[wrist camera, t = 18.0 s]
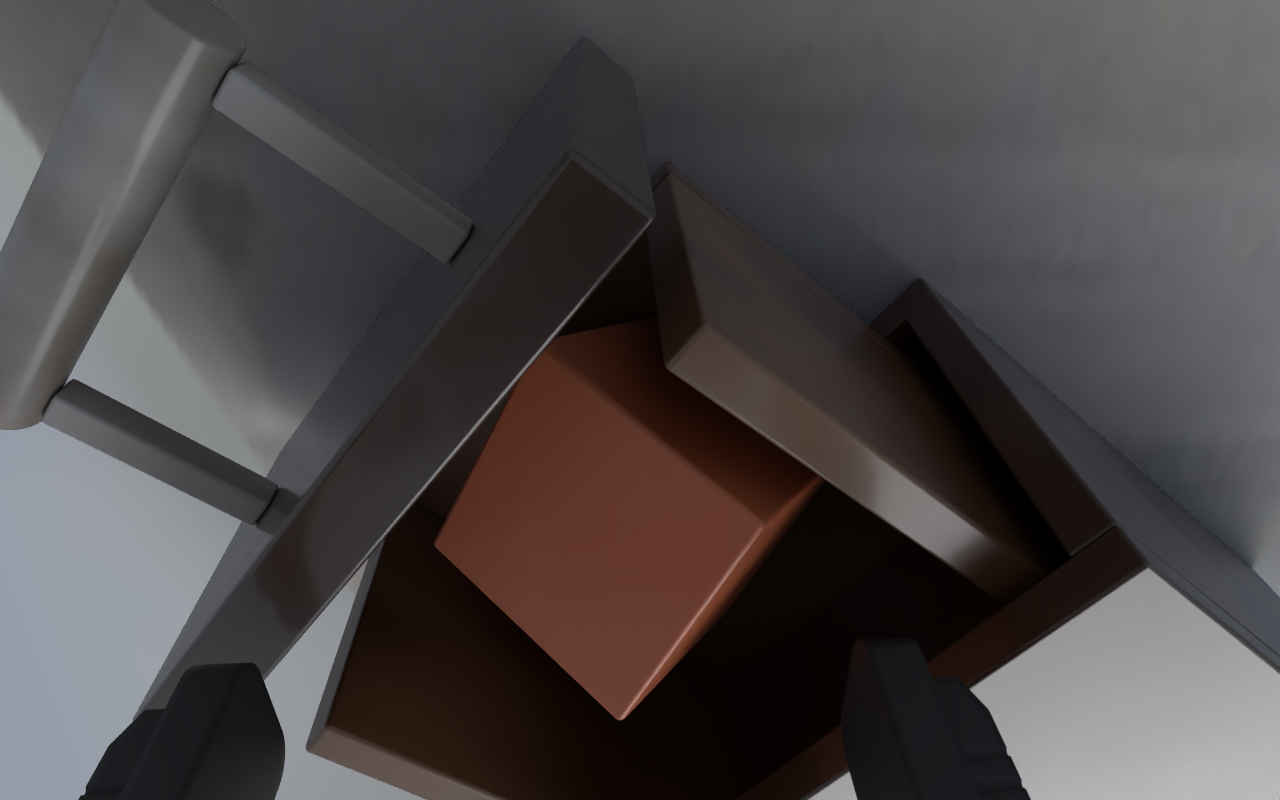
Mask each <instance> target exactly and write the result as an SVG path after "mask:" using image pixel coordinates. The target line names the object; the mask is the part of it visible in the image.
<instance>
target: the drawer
mask: <svg viewBox="0 0 1280 800" xmlns="http://www.w3.org/2000/svg"><path fill="white" fill-rule="evenodd" d="M246 48H247V42H246V38H245V36H244V34H243V33H242V31H241V30H240V29H239V28H238V26H237V25H236V24H235V23H234V22H233V21H232V20H231V19H230V18H229V17H228V16H226V15H225V14H224V13H223V12H222V11H221V10H219V9H218V8H217V7H216V6H214V5H213V4H212V3H210V2H209V1H207V0H115V2H114V5H113V7H112V9H111V11H110V13H109V16H108V18H107V20H106V22H105V24H104V27H103V29H102V31H101V33H100V35H99V37H98V40H97V42H96V44H95V46H94V48H93V51H92V53H91V55H90V57H89V59H88V62H87V64H86V66H85V68H84V70H83V73H82V75H81V77H80V79H79V81H78V83H77V86H76V88H75V90H74V92H73V94H72V97H71V99H70V101H69V103H68V105H67V108H66V110H65V112H64V114H63V116H62V119H61V121H60V123H59V125H58V127H57V130H56V132H55V134H54V136H53V138H52V140H51V143H50V145H49V147H48V149H47V151H46V154H45V156H44V158H43V160H42V162H41V165H40V167H39V169H38V171H37V173H36V176H35V178H34V180H33V182H32V184H31V186H30V189H29V191H28V193H27V195H26V197H25V200H24V202H23V204H22V206H21V209H20V211H19V213H18V215H17V217H16V219H15V222H14V224H13V226H12V228H11V230H10V232H9V235H8V237H7V239H6V241H5V243H4V246H3V248H2V250H1V252H0V429H1V430H17V429H24V428H27V427H31V426H33V425H36V424H38V423H39V422H41V421H42V422H43V423H45V424H47V425H49V426H51V427H53V428H55V429H57V430H59V431H61V432H63V433H65V434H67V435H69V436H71V437H74V438H75V439H77V440H79V441H81V442H83V443H85V444H87V445H89V446H91V447H94V448H96V449H97V450H100V451H102V452H104V453H106V454H108V455H110V456H112V457H114V458H116V459H118V460H120V461H122V462H124V463H126V464H128V465H130V466H132V467H134V468H136V469H138V470H140V471H142V472H144V473H146V474H148V475H150V476H152V477H154V478H156V479H158V480H161V481H162V482H164V483H166V484H168V485H171V486H173V487H174V488H177V489H179V490H180V491H183V492H185V493H187V494H189V495H191V496H193V497H195V498H197V499H199V500H201V501H203V502H205V503H207V504H209V505H211V506H213V507H215V508H217V509H219V510H221V511H223V512H225V513H227V514H229V515H231V516H233V517H235V518H237V519H239V520H241V521H242V522H241V524H240V526H239V528H238V530H237V532H236V533H235V535H234V537H233V539H232V540H231V542H230V544H229V546H228V548H227V549H226V552H225V553H224V555H223V557H222V559H221V560H220V562H219V564H218V566H217V568H216V570H215V571H214V573H213V575H212V577H211V579H210V581H209V582H208V584H207V586H206V588H205V589H204V591H203V593H202V595H201V597H200V598H199V600H198V602H197V604H196V606H195V607H194V609H193V611H192V613H191V615H190V617H189V619H188V620H187V622H186V624H185V626H184V627H183V629H182V631H181V633H180V635H179V637H178V639H177V640H176V642H175V644H174V646H173V647H172V649H171V651H170V653H169V655H168V656H167V658H166V660H165V662H164V664H163V665H162V667H161V669H160V671H159V673H158V675H157V677H156V678H155V680H154V682H153V684H152V686H151V687H150V689H149V691H148V693H147V694H146V696H145V698H144V700H143V702H142V704H141V705H140V707H139V709H138V711H137V713H136V715H135V716H134V718H133V721H134V720H135V719H136V718H137V717H138V716H139V715H140V714H141V713H142V712H143V711H144V710H149V709H165V707H166V705H167V703H168V702H169V700H170V698H171V696H172V694H173V692H174V690H175V688H176V686H177V684H178V682H179V680H180V679H181V677H182V675H183V674H184V673H185V671H186V670H187V669H188V668H189V667H191V666H193V665H200V664H224V663H249V662H251V663H254V664H256V665H257V667H258V668H259V670H260V672H261V675H262V678H263V680H265V679H266V678H267V677H268V675H269V674H270V673H271V672H272V671H273V670H274V668H275V667H276V666H277V664H279V662H280V661H281V660H282V659H283V658H284V657H285V655H286V654H287V653H288V652H289V651H290V649H291V648H292V647H293V646H294V645H295V644H296V642H297V641H298V640H299V639H300V638H301V637H302V635H303V634H304V633H305V632H306V630H307V629H308V628H309V627H310V626H311V625H312V624H313V622H314V621H315V620H316V619H317V618H318V616H319V615H320V614H321V613H322V612H323V611H324V609H325V608H326V607H327V606H328V605H329V604H330V602H331V601H332V600H333V599H334V598H335V596H336V595H337V594H338V593H339V592H340V591H341V589H342V588H343V587H344V586H345V585H346V584H347V582H348V581H349V580H350V579H351V578H352V577H353V575H354V574H355V573H356V572H357V571H358V569H359V568H360V567H361V566H362V565H363V564H364V562H365V561H366V560H367V559H368V558H369V559H368V562H367V565H366V568H365V571H364V574H363V577H362V580H361V583H360V586H359V589H358V592H357V595H356V598H355V601H354V604H353V607H352V610H351V613H350V616H349V619H348V622H347V625H346V628H345V631H344V634H343V636H342V640H341V642H340V646H339V649H338V652H337V655H336V657H335V661H334V663H333V666H332V669H331V672H330V675H329V678H328V681H327V684H326V687H325V690H324V693H323V696H322V699H321V702H320V705H319V708H318V711H317V714H316V717H315V720H314V723H313V726H312V729H311V732H310V735H309V738H308V741H307V744H306V750H307V751H308V752H310V753H312V754H314V755H317V756H319V757H322V758H325V759H327V760H330V761H332V762H334V763H337V764H339V765H342V766H344V767H347V768H349V769H352V770H354V771H357V772H359V773H362V774H364V775H367V776H369V777H372V778H375V779H377V780H379V781H382V782H385V783H387V784H389V785H392V786H394V787H397V788H400V789H402V790H404V791H407V792H410V793H412V794H414V795H417V796H420V797H422V798H424V799H427V800H735V799H736V798H738V797H739V796H741V795H742V794H743V793H745V792H746V791H747V790H749V789H750V788H752V787H753V786H754V785H756V784H757V783H759V782H760V781H761V780H763V779H764V778H766V777H767V776H768V775H770V774H771V773H773V772H774V771H775V770H777V769H778V768H780V767H781V766H782V765H784V764H785V763H787V762H788V761H789V760H791V759H792V758H793V757H795V756H796V755H798V754H799V753H800V752H802V751H803V750H805V749H806V748H807V747H809V746H810V745H812V744H813V743H814V742H816V741H817V740H819V739H820V738H821V737H823V736H824V735H826V734H827V733H828V732H830V731H831V730H833V729H834V728H835V727H837V726H838V725H840V724H841V712H842V706H843V700H844V694H845V689H846V683H847V677H848V672H849V666H850V661H851V655H852V649H853V645H854V643H855V641H856V640H858V639H880V638H904V637H911V638H913V639H915V641H916V642H917V643H918V645H919V647H920V649H921V651H922V653H923V656H924V658H925V660H926V662H927V661H929V660H930V659H932V658H933V657H934V656H936V655H937V654H939V653H940V652H941V651H943V650H944V649H946V648H947V647H948V646H950V645H951V644H952V643H954V642H955V641H957V640H958V639H959V638H961V637H962V636H964V635H965V634H966V633H968V632H969V631H971V630H972V629H973V628H975V627H976V626H978V625H979V624H980V623H982V622H983V621H985V620H986V619H987V618H989V617H990V616H992V615H993V614H994V613H996V612H997V611H998V610H1000V609H1001V608H1003V607H1004V606H1005V605H1007V604H1008V603H1010V602H1011V601H1012V600H1014V599H1015V598H1017V597H1018V596H1019V595H1021V594H1022V593H1024V592H1025V591H1026V590H1028V589H1029V588H1031V587H1032V586H1033V585H1035V584H1036V583H1038V582H1039V581H1040V580H1042V579H1043V578H1045V577H1046V576H1047V575H1049V574H1050V573H1051V572H1053V571H1054V570H1056V569H1057V568H1058V567H1060V566H1061V565H1063V564H1064V563H1065V562H1067V561H1068V560H1070V559H1071V557H1070V556H1069V555H1068V554H1067V552H1066V551H1065V550H1064V548H1063V547H1062V545H1061V544H1060V542H1059V541H1058V539H1057V538H1056V536H1055V535H1054V534H1053V532H1052V531H1051V529H1050V528H1049V526H1048V525H1047V523H1046V522H1045V521H1044V519H1043V518H1042V516H1041V515H1040V513H1039V512H1038V510H1037V509H1036V508H1035V506H1034V505H1033V503H1032V502H1031V500H1030V499H1029V497H1028V496H1027V495H1026V493H1025V492H1024V490H1023V489H1022V487H1021V486H1020V484H1019V483H1018V482H1017V480H1016V479H1015V477H1014V476H1013V474H1012V473H1011V471H1010V470H1009V469H1008V467H1007V466H1006V464H1005V463H1004V461H1003V460H1002V458H1001V457H1000V455H999V454H998V453H997V451H996V450H995V448H994V447H993V445H992V444H991V442H990V441H989V440H988V438H987V437H986V435H985V434H984V432H983V431H982V429H981V428H980V427H979V425H978V424H977V422H976V421H975V419H974V418H973V416H972V415H971V414H970V412H969V411H968V409H967V408H966V406H965V405H964V403H963V402H962V401H961V400H959V399H958V398H957V397H956V396H955V395H953V394H952V393H951V392H950V391H948V390H947V389H946V388H945V387H944V386H942V385H941V384H940V383H939V382H937V381H936V380H935V379H934V378H933V377H931V376H930V375H929V374H928V373H927V372H925V371H924V370H923V369H922V368H920V367H919V366H918V365H917V364H916V363H914V362H913V361H912V360H911V359H909V358H908V357H907V356H906V355H905V354H903V353H902V352H901V351H900V350H898V349H897V348H896V347H895V346H894V345H892V344H891V343H890V342H889V341H887V340H886V339H885V338H884V337H883V336H881V335H880V334H879V333H878V332H876V331H875V330H874V329H873V328H872V327H870V326H869V325H868V324H867V323H865V322H864V321H863V320H862V319H861V318H859V317H858V316H857V315H856V314H854V313H853V312H852V311H851V310H850V309H848V308H847V307H846V306H845V305H844V304H842V303H841V302H840V301H839V300H837V299H836V298H835V297H834V296H833V295H831V294H830V293H829V292H828V291H826V290H825V289H824V288H823V287H822V286H820V285H819V284H818V283H817V282H815V281H814V280H813V279H812V278H811V277H809V276H808V275H807V274H806V273H804V272H803V271H802V270H801V269H800V268H798V267H797V266H796V265H795V264H793V263H792V262H791V261H790V260H789V259H787V258H786V257H785V256H784V255H782V254H781V253H780V252H779V251H778V250H776V249H775V248H774V247H773V246H771V245H770V244H769V243H768V242H767V241H765V240H764V239H763V238H762V237H761V236H759V235H758V234H757V233H756V232H754V231H753V230H752V229H751V228H750V227H748V226H747V225H746V224H745V223H743V222H742V221H741V220H740V219H739V218H737V217H736V216H735V215H734V214H732V213H731V212H730V211H729V210H728V209H726V208H725V207H724V206H723V205H721V204H720V203H719V202H718V201H717V200H715V199H714V198H713V197H712V196H710V195H709V194H708V193H707V192H706V191H704V190H703V189H702V188H701V187H699V186H698V185H697V184H696V183H695V182H693V181H692V180H691V179H690V178H688V177H687V176H686V175H685V174H684V173H682V172H681V171H680V170H679V169H678V168H676V167H675V166H674V165H673V164H671V163H670V162H665V163H663V164H662V165H661V167H660V168H659V169H658V170H657V171H656V173H655V174H654V175H653V176H652V178H651V179H650V175H649V170H648V164H647V158H646V152H645V146H644V140H643V134H642V128H641V123H640V117H639V111H638V105H637V99H636V93H635V87H634V82H633V78H632V76H631V75H630V74H629V73H627V72H626V71H625V70H624V69H623V68H622V67H620V66H619V65H618V64H617V63H616V62H615V61H613V60H612V59H611V58H610V57H609V56H607V55H606V54H605V53H604V52H603V51H602V50H600V49H599V48H598V47H597V46H596V45H595V44H593V43H592V42H591V41H590V40H589V39H587V38H586V37H583V36H582V37H581V38H579V39H578V40H577V42H576V43H575V44H574V46H573V47H572V49H571V50H570V51H569V53H568V54H567V56H566V57H565V58H564V60H563V61H562V62H561V64H560V65H559V67H558V68H557V69H556V71H555V72H554V74H553V75H552V76H551V78H550V79H549V80H548V82H547V83H546V85H545V86H544V87H543V89H542V90H541V92H540V93H539V94H538V96H537V97H536V98H535V100H534V101H533V103H532V104H531V105H530V107H529V108H528V110H527V111H526V112H525V114H524V115H523V117H522V118H521V119H520V121H519V122H518V123H517V125H516V126H515V128H514V129H513V130H512V132H511V133H510V135H509V136H508V137H507V139H506V140H505V141H504V143H503V144H502V146H501V147H500V148H499V150H498V151H497V153H496V154H495V155H494V157H493V158H492V159H491V161H490V162H489V164H488V165H487V166H486V168H485V169H484V171H483V172H482V173H481V175H480V176H479V177H478V179H477V180H476V182H475V183H474V184H473V186H472V187H471V189H470V190H469V191H468V193H467V194H466V195H465V197H464V198H463V200H462V201H461V202H460V204H459V205H458V207H457V208H454V207H453V206H452V205H450V204H449V203H447V202H446V201H445V200H443V199H442V198H440V197H439V196H437V195H436V194H435V193H433V192H432V191H430V190H429V189H428V188H426V187H425V186H423V185H422V184H420V183H419V182H418V181H416V180H415V179H413V178H412V177H411V176H409V175H408V174H406V173H405V172H403V171H402V170H401V169H399V168H398V167H396V166H395V165H394V164H392V163H391V162H389V161H388V160H387V159H385V158H384V157H382V156H381V155H379V154H378V153H377V152H375V151H374V150H372V149H371V148H370V147H368V146H367V145H365V144H364V143H362V142H361V141H360V140H358V139H357V138H355V137H354V136H353V135H351V134H350V133H348V132H347V131H345V130H344V129H343V128H341V127H340V126H338V125H337V124H336V123H334V122H333V121H331V120H330V119H328V118H327V117H326V116H324V115H323V114H321V113H320V112H319V111H317V110H316V109H314V108H313V107H312V106H310V105H309V104H307V103H306V102H304V101H303V100H302V99H300V98H299V97H297V96H296V95H295V94H293V93H292V92H290V91H289V90H287V89H286V88H285V87H283V86H282V85H280V84H279V83H278V82H276V81H275V80H273V79H272V78H270V77H269V76H268V75H266V74H265V73H263V72H262V71H261V70H259V69H258V68H256V67H255V66H253V65H252V64H251V63H249V62H243V63H241V64H239V65H238V63H239V61H240V60H241V58H242V56H243V54H244V52H245V50H246ZM214 108H215V109H216V110H218V111H219V112H221V113H222V114H224V115H225V116H227V117H228V118H230V119H231V120H233V121H234V122H236V123H237V124H239V125H240V126H242V127H243V128H245V129H246V130H248V131H249V132H251V133H252V134H254V135H255V136H256V137H258V138H259V139H261V140H262V141H264V142H265V143H267V144H268V145H270V146H271V147H273V148H274V149H276V150H277V151H279V152H280V153H282V154H283V155H285V156H286V157H288V158H289V159H291V160H292V161H294V162H295V163H296V164H298V165H299V166H301V167H302V168H304V169H305V170H307V171H308V172H310V173H311V174H313V175H314V176H316V177H317V178H319V179H320V180H322V181H323V182H325V183H326V184H328V185H329V186H331V187H332V188H334V189H335V190H336V191H338V192H339V193H341V194H342V195H344V196H345V197H347V198H348V199H350V200H351V201H353V202H354V203H356V204H357V205H359V206H360V207H362V208H363V209H365V210H366V211H368V212H369V213H371V214H372V215H374V216H375V217H376V218H378V219H379V220H381V221H382V222H384V223H385V224H387V225H388V226H390V227H391V228H393V229H394V230H396V231H397V232H399V233H400V234H402V235H403V236H405V237H406V238H408V239H409V240H411V241H412V242H414V243H415V244H417V245H418V246H419V247H421V248H422V249H424V250H425V252H424V254H423V255H422V256H421V258H420V259H419V261H418V262H417V263H416V265H415V266H414V267H413V269H412V270H411V272H410V273H409V274H408V276H407V277H406V279H405V280H404V281H403V283H402V284H401V285H400V287H399V288H398V290H397V291H396V292H395V294H394V295H393V297H392V298H391V299H390V301H389V302H388V303H387V305H386V306H385V308H384V309H383V310H382V312H381V313H380V315H379V316H378V317H377V319H376V320H375V321H374V323H373V324H372V326H371V327H370V328H369V330H368V331H367V333H366V334H365V335H364V337H363V338H362V339H361V341H360V342H359V344H358V345H357V346H356V348H355V349H354V351H353V352H352V353H351V355H350V356H349V357H348V359H347V360H346V362H345V363H344V364H343V366H342V367H341V369H340V370H339V371H338V373H337V374H336V375H335V377H334V378H333V380H332V381H331V382H330V384H329V385H328V387H327V388H326V389H325V391H324V392H323V393H322V395H321V396H320V398H319V399H318V400H317V402H316V403H315V405H314V406H313V407H312V409H311V410H310V411H309V413H308V414H307V416H306V417H305V418H304V420H303V421H302V423H301V424H300V425H299V427H298V428H297V429H296V431H295V432H294V434H293V435H292V436H291V438H290V439H289V441H288V442H287V443H286V445H285V446H284V448H283V449H282V450H281V452H280V453H279V455H278V457H277V459H276V461H275V462H274V464H273V466H272V468H271V470H270V471H269V473H268V475H267V477H266V478H265V477H263V476H261V475H259V474H257V473H255V472H253V471H251V470H249V469H247V468H245V467H243V466H241V465H240V464H237V463H236V462H234V461H232V460H230V459H228V458H226V457H224V456H222V455H220V454H218V453H216V452H215V451H212V450H211V449H209V448H207V447H205V446H203V445H201V444H199V443H197V442H195V441H193V440H191V439H190V438H188V437H186V436H184V435H182V434H180V433H178V432H176V431H174V430H172V429H170V428H168V427H166V426H164V425H163V424H160V423H158V422H157V421H154V420H153V419H151V418H149V417H147V416H145V415H143V414H141V413H139V412H137V411H136V410H134V409H132V408H130V407H128V406H126V405H124V404H122V403H120V402H118V401H116V400H114V399H112V398H111V397H109V396H107V395H105V394H103V393H101V392H99V391H97V390H95V389H93V388H91V387H89V386H87V385H86V384H84V383H82V382H80V381H78V380H75V379H73V380H71V381H69V382H68V383H67V384H66V385H65V383H66V381H67V379H68V377H69V375H70V373H71V372H72V370H73V368H74V366H75V364H76V362H77V361H78V359H79V357H80V355H81V353H82V351H83V350H84V348H85V346H86V344H87V342H88V340H89V338H90V337H91V335H92V333H93V331H94V329H95V327H96V326H97V324H98V322H99V320H100V318H101V316H102V314H103V313H104V311H105V309H106V307H107V305H108V303H109V301H110V300H111V298H112V296H113V294H114V292H115V290H116V289H117V287H118V285H119V283H120V281H121V279H122V278H123V276H124V274H125V272H126V270H127V268H128V266H129V265H130V263H131V261H132V259H133V257H134V255H135V254H136V252H137V250H138V248H139V246H140V244H141V242H142V241H143V239H144V237H145V235H146V233H147V231H148V230H149V228H150V226H151V224H152V222H153V220H154V218H155V217H156V215H157V213H158V211H159V209H160V207H161V206H162V204H163V202H164V200H165V198H166V196H167V194H168V193H169V191H170V189H171V187H172V185H173V183H174V181H175V180H176V178H177V176H178V174H179V172H180V170H181V169H182V167H183V165H184V163H185V161H186V159H187V157H188V156H189V154H190V152H191V150H192V148H193V146H194V145H195V143H196V141H197V139H198V137H199V135H200V133H201V132H202V130H203V128H204V126H205V124H206V122H207V121H208V119H209V117H210V115H211V113H212V111H213V109H214ZM655 316H658V321H659V328H660V336H661V343H662V351H663V358H664V365H665V367H666V368H667V370H669V371H670V372H672V373H673V374H675V375H676V376H677V377H679V378H680V379H682V380H683V381H685V382H686V383H687V384H689V385H690V386H692V387H693V388H695V389H696V390H697V391H699V392H700V393H702V394H703V395H705V396H706V397H707V398H709V399H710V400H712V401H713V402H715V403H716V404H717V405H719V406H720V407H722V408H723V409H725V410H726V411H727V412H729V413H730V414H732V415H733V416H735V417H736V418H737V419H739V420H740V421H742V422H743V423H745V424H746V425H747V426H749V427H750V428H752V429H753V430H755V431H756V432H757V433H759V434H760V435H762V436H763V437H765V438H766V439H767V440H769V441H770V442H772V443H773V444H775V445H776V446H777V447H779V448H780V449H782V450H783V451H785V452H786V453H787V454H789V455H790V456H792V457H793V458H795V459H796V460H797V461H799V462H800V463H802V464H803V465H805V466H806V467H807V468H809V469H810V470H812V471H813V472H815V473H816V474H817V475H819V476H820V477H822V478H823V479H825V480H826V481H825V482H824V483H823V485H822V486H821V487H820V489H819V490H818V491H817V493H816V494H815V495H814V497H813V498H812V499H811V501H810V502H809V503H808V505H807V506H806V507H805V509H804V510H803V511H802V512H801V514H800V515H799V516H798V518H797V519H796V520H795V522H794V523H793V524H792V526H791V527H790V528H789V530H788V531H787V532H786V534H785V535H784V536H783V538H782V539H781V540H780V542H779V543H778V544H777V546H776V547H775V548H774V550H773V551H772V552H771V554H770V555H769V556H768V558H767V559H766V560H765V562H764V563H763V564H762V565H761V567H760V568H759V569H758V571H757V572H756V573H755V575H754V576H753V577H752V579H751V580H750V581H749V583H748V584H747V585H746V587H745V588H744V589H743V591H742V592H741V593H740V595H739V596H738V597H737V599H736V600H735V601H734V603H733V604H732V605H731V607H730V608H729V609H728V611H727V612H726V613H725V614H724V615H723V616H722V617H721V618H720V619H719V620H718V621H717V622H716V624H715V625H714V626H713V627H712V628H711V629H710V630H709V631H708V632H707V633H706V634H705V635H704V636H703V637H702V638H701V639H700V640H699V641H698V642H697V643H696V644H695V646H694V647H693V648H692V649H691V650H690V651H689V652H688V653H687V654H686V655H685V656H684V657H683V658H682V659H681V660H680V661H679V662H678V663H677V664H676V665H675V666H674V667H673V669H672V670H671V671H670V672H669V673H668V674H667V675H666V676H665V677H664V678H663V679H662V680H661V681H660V682H659V683H658V684H657V685H656V686H655V687H654V688H653V689H652V691H651V692H650V693H649V694H648V695H647V696H646V697H645V698H644V699H643V700H642V701H641V702H640V703H639V704H638V705H637V706H636V707H635V708H634V709H633V710H632V711H631V712H630V714H629V715H628V716H627V717H626V718H625V719H622V720H620V721H619V720H617V719H616V718H615V717H614V716H613V715H611V714H610V713H609V712H608V711H607V710H606V709H605V708H604V707H603V706H602V705H601V704H600V703H599V702H598V701H597V700H596V699H595V698H594V697H593V696H592V695H590V694H589V693H588V692H587V691H586V690H585V689H584V688H583V687H582V686H581V685H580V684H579V683H578V682H577V681H576V680H575V679H574V678H573V677H572V676H571V675H569V674H568V673H567V672H566V671H565V670H564V669H563V668H562V667H561V666H560V665H559V664H558V663H557V662H556V661H555V660H554V659H553V658H552V657H551V656H550V655H548V654H547V653H546V652H545V651H544V650H543V649H542V648H541V647H540V646H539V645H538V644H537V643H536V642H535V641H534V640H533V639H532V638H531V637H530V636H529V635H528V634H526V633H525V632H524V631H523V630H522V629H521V628H520V627H519V626H518V625H517V624H516V623H515V622H514V621H513V620H512V619H511V618H510V617H509V616H508V615H507V614H505V613H504V612H503V611H502V610H501V609H500V608H499V607H498V606H497V605H496V604H495V603H494V602H493V601H492V600H491V599H490V598H489V597H488V596H487V595H486V594H484V593H483V592H482V591H481V590H480V589H479V588H478V587H477V586H476V585H475V584H474V583H473V582H472V581H471V580H470V579H469V578H468V577H467V576H466V575H465V574H463V573H462V572H461V571H460V570H459V569H458V568H457V567H456V566H455V565H454V564H453V563H452V562H451V561H450V560H449V559H448V558H447V557H446V556H445V555H444V554H442V553H441V552H440V551H439V550H438V549H437V548H436V547H435V545H434V541H435V539H436V537H437V535H438V534H439V532H440V530H441V528H442V526H443V524H444V522H445V520H446V518H447V516H448V514H449V512H450V510H451V508H452V506H453V504H454V502H455V500H456V498H457V496H458V495H459V493H460V491H461V489H462V487H463V485H464V483H465V481H466V479H467V477H468V475H469V473H470V471H471V469H472V467H473V465H474V463H475V461H476V459H477V457H478V456H479V454H480V452H481V450H482V448H483V446H484V444H485V442H486V440H487V438H488V436H489V434H490V432H491V430H492V428H493V426H494V424H495V422H496V420H497V418H498V416H499V415H500V413H501V411H502V409H503V407H504V405H505V403H506V401H507V399H508V397H509V395H510V393H511V391H512V389H513V387H514V386H515V385H516V383H517V382H518V381H519V380H520V379H521V378H522V376H523V375H524V374H525V373H526V372H527V371H528V369H529V368H530V367H531V366H532V365H533V363H534V362H535V361H536V360H537V359H538V358H539V356H540V355H541V354H542V353H543V352H544V350H545V349H546V348H547V347H548V346H549V345H550V343H551V342H552V341H553V340H554V339H555V338H556V337H559V336H564V335H569V334H573V333H578V332H583V331H588V330H593V329H597V328H602V327H607V326H612V325H617V324H622V323H626V322H631V321H636V320H641V319H646V318H650V317H655ZM64 385H65V386H64ZM63 386H64V387H63Z"/></svg>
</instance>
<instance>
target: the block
mask: <svg viewBox="0 0 1280 800" xmlns="http://www.w3.org/2000/svg"><path fill="white" fill-rule="evenodd" d="M825 481H826V480H825V479H823V478H822V477H820V476H819V475H817V474H816V473H815V472H813V471H812V470H810V469H809V468H807V467H806V466H805V465H803V464H802V463H800V462H799V461H797V460H796V459H795V458H793V457H792V456H790V455H789V454H787V453H786V452H785V451H783V450H782V449H780V448H779V447H777V446H776V445H775V444H773V443H772V442H770V441H769V440H767V439H766V438H765V437H763V436H762V435H760V434H759V433H757V432H756V431H755V430H753V429H752V428H750V427H749V426H747V425H746V424H745V423H743V422H742V421H740V420H739V419H737V418H736V417H735V416H733V415H732V414H730V413H729V412H727V411H726V410H725V409H723V408H722V407H720V406H719V405H717V404H716V403H715V402H713V401H712V400H710V399H709V398H707V397H706V396H705V395H703V394H702V393H700V392H699V391H697V390H696V389H695V388H693V387H692V386H690V385H689V384H687V383H686V382H685V381H683V380H682V379H680V378H679V377H677V376H676V375H675V374H673V373H672V372H670V371H669V370H667V368H666V367H665V365H664V358H663V351H662V343H661V336H660V328H659V321H658V316H655V317H650V318H646V319H641V320H636V321H631V322H626V323H622V324H617V325H612V326H607V327H602V328H597V329H593V330H588V331H583V332H578V333H573V334H569V335H564V336H559V337H556V338H555V339H554V340H553V341H552V342H551V343H550V345H549V346H548V347H547V348H546V349H545V350H544V352H543V353H542V354H541V355H540V356H539V358H538V359H537V360H536V361H535V362H534V363H533V365H532V366H531V367H530V368H529V369H528V371H527V372H526V373H525V374H524V375H523V376H522V378H521V379H520V380H519V381H518V382H517V383H516V385H515V386H514V387H513V389H512V391H511V393H510V395H509V397H508V399H507V401H506V403H505V405H504V407H503V409H502V411H501V413H500V415H499V416H498V418H497V420H496V422H495V424H494V426H493V428H492V430H491V432H490V434H489V436H488V438H487V440H486V442H485V444H484V446H483V448H482V450H481V452H480V454H479V456H478V457H477V459H476V461H475V463H474V465H473V467H472V469H471V471H470V473H469V475H468V477H467V479H466V481H465V483H464V485H463V487H462V489H461V491H460V493H459V495H458V496H457V498H456V500H455V502H454V504H453V506H452V508H451V510H450V512H449V514H448V516H447V518H446V520H445V522H444V524H443V526H442V528H441V530H440V532H439V534H438V535H437V537H436V539H435V541H434V545H435V547H436V548H437V549H438V550H439V551H440V552H441V553H442V554H444V555H445V556H446V557H447V558H448V559H449V560H450V561H451V562H452V563H453V564H454V565H455V566H456V567H457V568H458V569H459V570H460V571H461V572H462V573H463V574H465V575H466V576H467V577H468V578H469V579H470V580H471V581H472V582H473V583H474V584H475V585H476V586H477V587H478V588H479V589H480V590H481V591H482V592H483V593H484V594H486V595H487V596H488V597H489V598H490V599H491V600H492V601H493V602H494V603H495V604H496V605H497V606H498V607H499V608H500V609H501V610H502V611H503V612H504V613H505V614H507V615H508V616H509V617H510V618H511V619H512V620H513V621H514V622H515V623H516V624H517V625H518V626H519V627H520V628H521V629H522V630H523V631H524V632H525V633H526V634H528V635H529V636H530V637H531V638H532V639H533V640H534V641H535V642H536V643H537V644H538V645H539V646H540V647H541V648H542V649H543V650H544V651H545V652H546V653H547V654H548V655H550V656H551V657H552V658H553V659H554V660H555V661H556V662H557V663H558V664H559V665H560V666H561V667H562V668H563V669H564V670H565V671H566V672H567V673H568V674H569V675H571V676H572V677H573V678H574V679H575V680H576V681H577V682H578V683H579V684H580V685H581V686H582V687H583V688H584V689H585V690H586V691H587V692H588V693H589V694H590V695H592V696H593V697H594V698H595V699H596V700H597V701H598V702H599V703H600V704H601V705H602V706H603V707H604V708H605V709H606V710H607V711H608V712H609V713H610V714H611V715H613V716H614V717H615V718H616V719H617V720H619V721H620V720H622V719H625V718H626V717H627V716H628V715H629V714H630V712H631V711H632V710H633V709H634V708H635V707H636V706H637V705H638V704H639V703H640V702H641V701H642V700H643V699H644V698H645V697H646V696H647V695H648V694H649V693H650V692H651V691H652V689H653V688H654V687H655V686H656V685H657V684H658V683H659V682H660V681H661V680H662V679H663V678H664V677H665V676H666V675H667V674H668V673H669V672H670V671H671V670H672V669H673V667H674V666H675V665H676V664H677V663H678V662H679V661H680V660H681V659H682V658H683V657H684V656H685V655H686V654H687V653H688V652H689V651H690V650H691V649H692V648H693V647H694V646H695V644H696V643H697V642H698V641H699V640H700V639H701V638H702V637H703V636H704V635H705V634H706V633H707V632H708V631H709V630H710V629H711V628H712V627H713V626H714V625H715V624H716V622H717V621H718V620H719V619H720V618H721V617H722V616H723V615H724V614H725V613H726V612H727V611H728V609H729V608H730V607H731V605H732V604H733V603H734V601H735V600H736V599H737V597H738V596H739V595H740V593H741V592H742V591H743V589H744V588H745V587H746V585H747V584H748V583H749V581H750V580H751V579H752V577H753V576H754V575H755V573H756V572H757V571H758V569H759V568H760V567H761V565H762V564H763V563H764V562H765V560H766V559H767V558H768V556H769V555H770V554H771V552H772V551H773V550H774V548H775V547H776V546H777V544H778V543H779V542H780V540H781V539H782V538H783V536H784V535H785V534H786V532H787V531H788V530H789V528H790V527H791V526H792V524H793V523H794V522H795V520H796V519H797V518H798V516H799V515H800V514H801V512H802V511H803V510H804V509H805V507H806V506H807V505H808V503H809V502H810V501H811V499H812V498H813V497H814V495H815V494H816V493H817V491H818V490H819V489H820V487H821V486H822V485H823V483H824V482H825Z"/></svg>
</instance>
